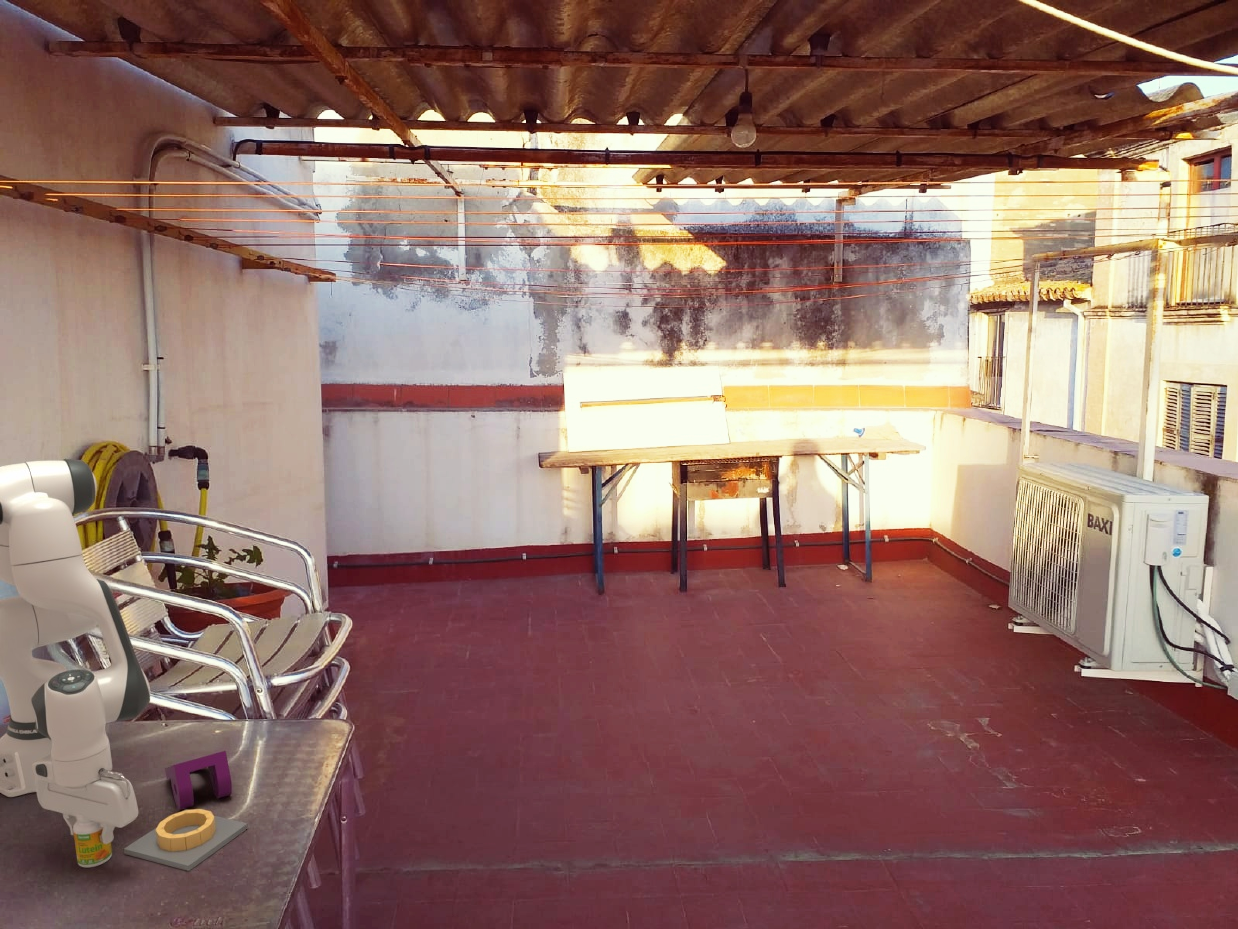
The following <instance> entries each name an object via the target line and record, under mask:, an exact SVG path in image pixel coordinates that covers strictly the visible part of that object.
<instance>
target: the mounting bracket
mask: <svg viewBox="0 0 1238 929" xmlns="http://www.w3.org/2000/svg"><path fill="white" fill-rule="evenodd" d="M203 769H208V773H209V778H210V784H211V787H212V790H213V794H214V795H215V797H216V798H217V799H221V798H224V797H226V796H230V795H232V792H233V786H232V785H233V784H232V776H231V772H230V766H229V762H228V756H227V751H226V750H223V751H219V752H216V753H213V754H209V755H205V756H201V757H198V758H197V757H196V758H195V759H191V760H187V761H183V762H179V763H175V764H173V765H170V766H169V767H165V768H164V770H165V771H164V773H165V777H166V779H170V781H171V782H170V783H171V788H172V793H173V798H174V802H175V805H176V804H177V805H176V807H177V809H178V811H182V810H185V809H189V808H191V807H193V806H194V801H195V800H194V792H193V790H194V789H193V786H192V779H191V775H190V773H193V772H197V771H199V770H203Z"/></svg>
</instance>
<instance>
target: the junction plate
mask: <svg viewBox="0 0 1238 929" xmlns="http://www.w3.org/2000/svg"><path fill="white" fill-rule="evenodd" d="M247 828H249V826H248V823H247V822H243V821H238V820H235V819H230V818H225V817H222V816H218V815H214V814H213V812H212V811H211V810H206V809H203V808H195V809H189V808H185V809H182V810H181V811H179V812H175V813H173V814H171V815H169V816H167V817H166V818H164V819H163V820H161V821H160V822H158V824H157V827H155V828H154V829H152V830H151V831H149V832H147V833H146V834H144V835H143V836H141V837H140V838H139V839H137V840H135V841H134V842H132V843H130V844H129V845H127V846H126V847H124V848H123V852H124V853H123V854H124V855H127V856H130V857H134V858H139V859H142V860H145V861H150V862H153V863H158V864H161V865H164V866H169V867H171V868H176V869H180V870H183V871H186V872H190V871H191V870H192V869H194V868H196V866H198V865H199V864H201V863H202V862H204V861H206V860H207V859H208V858H209V857H211V856H212V855H213V854H215V853H216V852H218V851H219V850H220V849H222V848H223V847H224V846H226V845H228V843H230V842H231V841H232V840H234V839H235V838H236V837H238V836H240V835H241V834H243V833H244V832H245V831H246V829H247ZM247 830H248V829H247Z"/></svg>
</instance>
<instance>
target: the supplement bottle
mask: <svg viewBox="0 0 1238 929" xmlns="http://www.w3.org/2000/svg"><path fill="white" fill-rule="evenodd" d="M76 819H77V821H76V822H75V824H74V826H73V832H74V836H73V838H74V846H75V852H76V861H77V864H78V866H79V867H81V868H89V869H90V868H94V867H95V868H96V867H98V866H100V865H103V864H105V863H106V862H108V861H109V860H110V859H111V857H112V856H113V849H112V841H111V842H110V843H108V844H103V843H100V842H99V838H98V834H99V833H101V832H102V831H103V827H101V824H100V823H99V822H95V821H91V820H87V819H85V818H84V817H83V816H82V815H81V814H76Z"/></svg>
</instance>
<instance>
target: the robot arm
mask: <svg viewBox="0 0 1238 929" xmlns="http://www.w3.org/2000/svg"><path fill="white" fill-rule="evenodd" d="M97 484H98V483H97V478H96V476H95V475H94V473H93V470H92V468H91V467H90V465H89V464H87V462H85V461H84V460H81V459H77V458H76V459H75V458H63V459H62V460H33V461H24V462H21V463H12V464H7V465H2V466H0V580H1V581H2V582H4V583H6V584H8V585H10V586H14V587H15V588H16V590H17V593H18V595H15V596H11V597H10V596H9V597H6V598H0V680H1V681H2V684H3V685H4V688H5V693H6V696H7V701H8V705H9V710H10V711H9V712H10V714H9V715H7V716H5V717H3V718H2V719H3V720H4V721H3V723H4V724H6V723H7V728H6V732H5V733H4V734H3V736H1V737H0V793H1V794H2V795H4V796H6V797H8V798H14V797H18V796H22V795H25V794H26V795H27V794H30V793H36V797H37V800H38V801H37V802H38V803H39V805H40V806H41V808H42V809H45V810H49V811H52V812H57V813H61V814H62V816H63V820H65V821H64V822H66V824H67V826H68V827H69V831H70V832H69V833H70V835H71V836H73V837H74V832H73V826H74V824H75V822H76V821H77V819H76V814H81V815H82V816H83V817H84V818H85V819H87V820H91V821H95V822H99V823H100V824H101V827H103V831H102V832H101V833H99V834H98V838H99V842H100V843H103V844H108V843H110V842H111V843H112V842H113V840H114V839H115V838H114V830H115V828H124V827H126V826H127V825H129V824H131V823H132V822H134V821H135V820H136V819H137V817H138V815H139V807H138V806H139V805H138V803H137V802H138V801H137V797H136V793H135V790H134V787H133V785H132V783H131V781H130V780H129V779H127V778H126V777H125V776H124V774H123V773H122V772H119V771H113V761H112V753H111V746H110V739H109V736H108V735H107V732H106V724H109V723H112V722H114V723H116V722H121V721H126V720H127V721H128V720H134V719H136V718H138V717H139V716H140V715H141V713H142V712H144V710H145V709H146V708H147V706H148V705H149V703H150V702H151V688H150V682H149V680H148V677H147V676H146V674H145V672H144V670H143V669H142V667H141V664H140V663H139V659H138V658H137V655H136V652H135V650H134V647H133V643H132V641H131V638H130V636H129V633H128V631H127V628H126V625H125V622H124V618H123V617H122V613H121V611H120V608H119V606H118V604H117V601H116V599H115V596H114V594H113V591H112V590H111V588H110V587H109V585H108V584H107V583H106V582H105V580H102V579H100V578H99V579H98V578H96V577H94V575H93V574H92V573H91V572H90V570H89V569H88V567H87V565H86V563H85V559H84V555H83V549H82V543H81V539H80V534H79V531H78V526H77V525H76V521H75V519H74V515H77V514H80V513H83V512H86V511H88V510H90V508H91V507H92V506H93V505H94V503H95V501H96V496H97V490H98V485H97ZM97 626H98V629H99V631H100V634H101V636H102V640H103V641H104V644H105V647H106V650H107V652H108V656H109V658H110V661H111V664H110V665H109V666H108V667H106V668H104V669H97V670H94V671H90V670H86V669H70V670H68V668H66V667H65V666H64V665H63V664H62V663H60V662H57V661H54V660H50V659H49V660H48V659H43V658H37V657H34V656H33V650H34V649H37V648H40V647H44V646H48V645H52V644H56V643H61V642H65V641H68V640H73V639H75V638H77V637H80V636H82V635H84V634H87V633H88V632H91V631H93V630H95V629H96V627H97Z"/></svg>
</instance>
